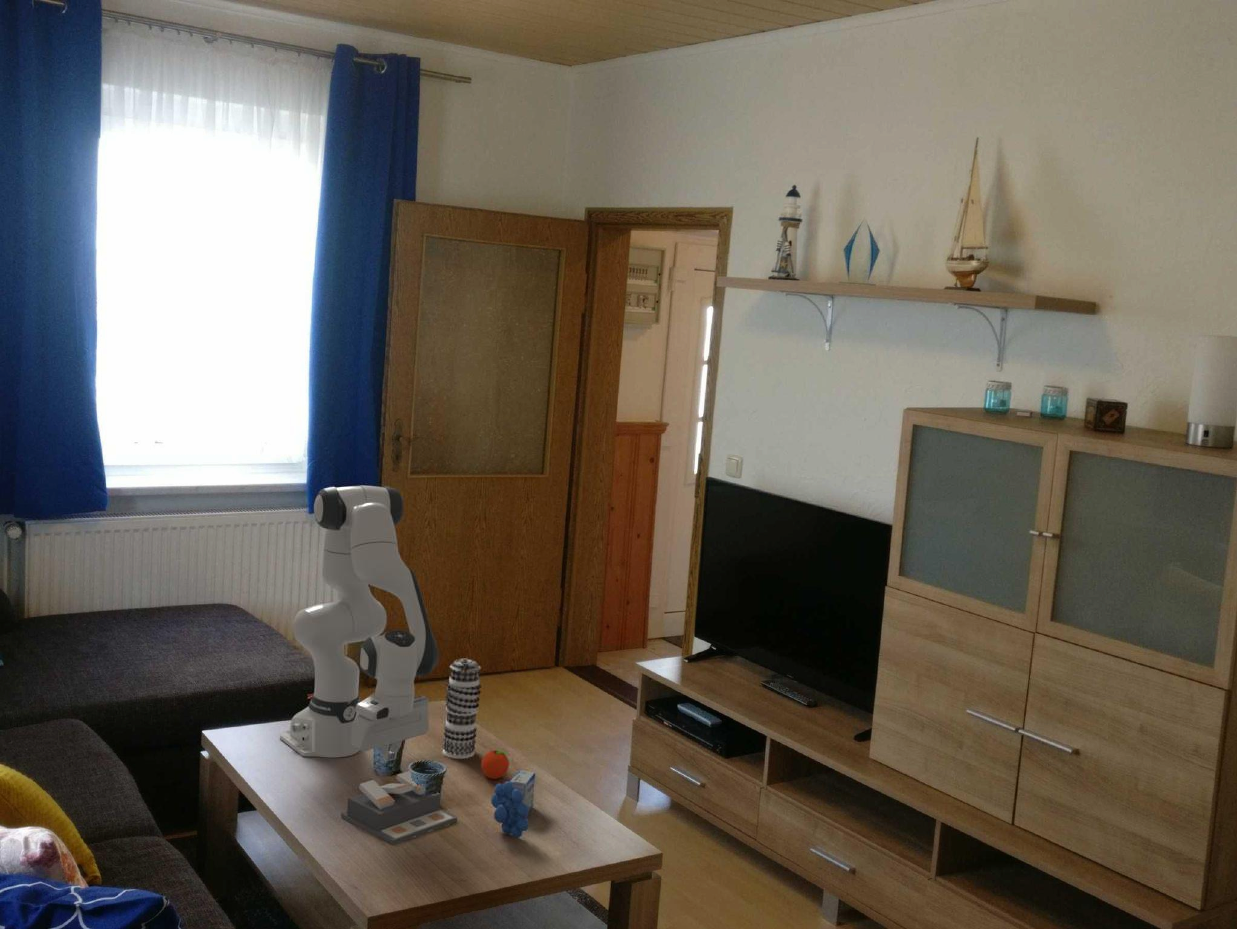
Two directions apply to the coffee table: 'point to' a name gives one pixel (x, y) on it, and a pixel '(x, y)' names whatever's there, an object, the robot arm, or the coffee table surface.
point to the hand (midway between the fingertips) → (388, 759)
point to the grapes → (510, 809)
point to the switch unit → (398, 815)
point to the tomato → (495, 764)
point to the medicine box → (525, 786)
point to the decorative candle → (461, 709)
